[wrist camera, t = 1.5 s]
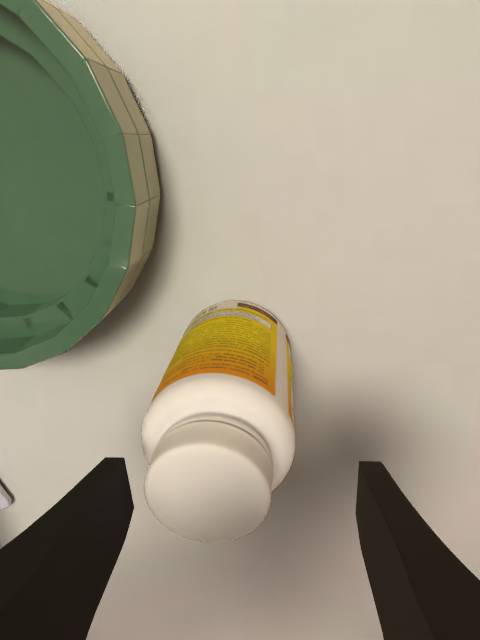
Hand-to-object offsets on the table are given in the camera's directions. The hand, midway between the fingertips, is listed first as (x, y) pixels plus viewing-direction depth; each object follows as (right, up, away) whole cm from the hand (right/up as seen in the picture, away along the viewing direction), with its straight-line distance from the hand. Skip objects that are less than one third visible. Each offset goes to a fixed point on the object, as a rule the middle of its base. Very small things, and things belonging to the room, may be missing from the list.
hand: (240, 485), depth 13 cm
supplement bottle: (0, +4, +10) cm, 10 cm away
